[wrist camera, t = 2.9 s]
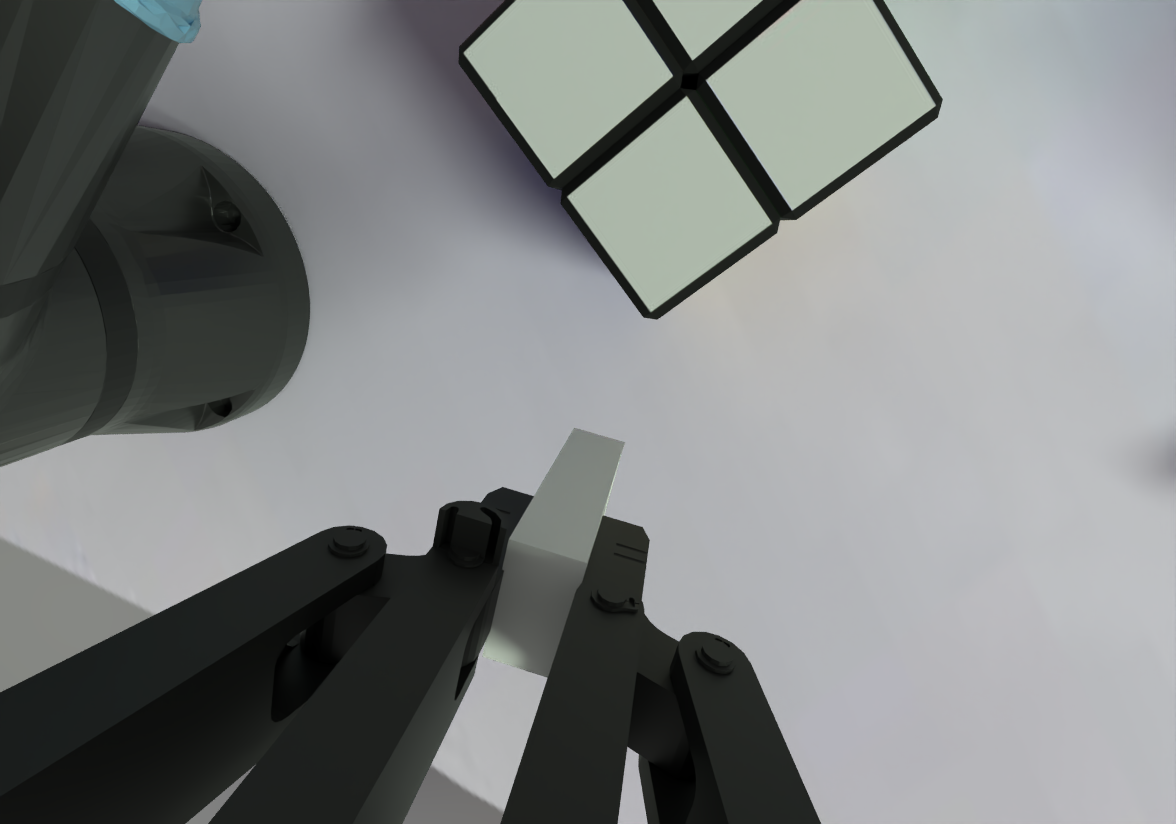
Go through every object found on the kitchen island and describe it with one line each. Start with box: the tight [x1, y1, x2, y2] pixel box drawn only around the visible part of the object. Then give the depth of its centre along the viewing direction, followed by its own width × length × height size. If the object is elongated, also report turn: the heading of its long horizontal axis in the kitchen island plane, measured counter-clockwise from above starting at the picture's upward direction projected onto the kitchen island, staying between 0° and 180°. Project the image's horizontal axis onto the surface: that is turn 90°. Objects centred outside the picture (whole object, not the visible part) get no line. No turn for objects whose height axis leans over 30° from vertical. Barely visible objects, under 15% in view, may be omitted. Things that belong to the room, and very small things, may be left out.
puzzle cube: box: [459, 0, 943, 319], centre depth 22 cm, size 10×10×10 cm
